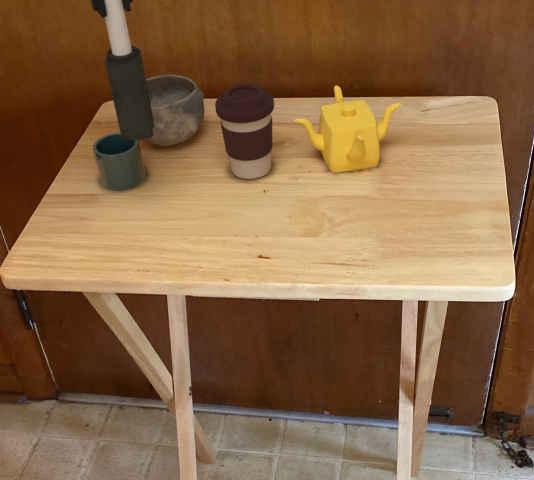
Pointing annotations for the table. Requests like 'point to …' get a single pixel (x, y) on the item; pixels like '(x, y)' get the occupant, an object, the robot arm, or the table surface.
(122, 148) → the cup
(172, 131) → the bowl
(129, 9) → the robot arm
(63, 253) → the table surface
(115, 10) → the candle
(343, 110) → the teapot
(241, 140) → the coffee cup
